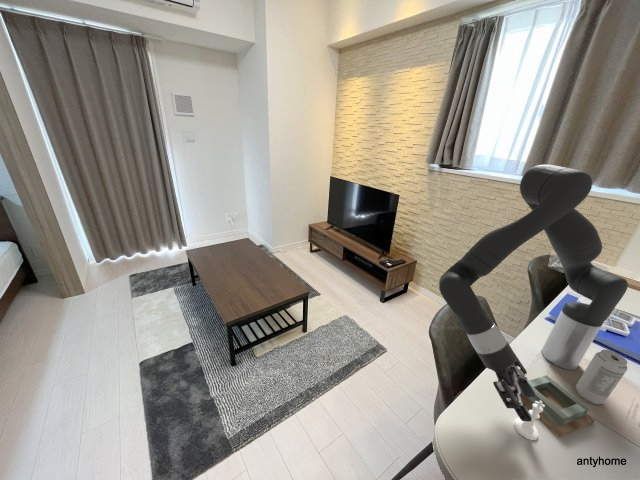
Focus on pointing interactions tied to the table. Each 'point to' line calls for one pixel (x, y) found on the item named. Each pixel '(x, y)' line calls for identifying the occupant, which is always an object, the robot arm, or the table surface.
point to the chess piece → (529, 422)
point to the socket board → (557, 406)
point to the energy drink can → (601, 376)
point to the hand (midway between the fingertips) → (529, 407)
